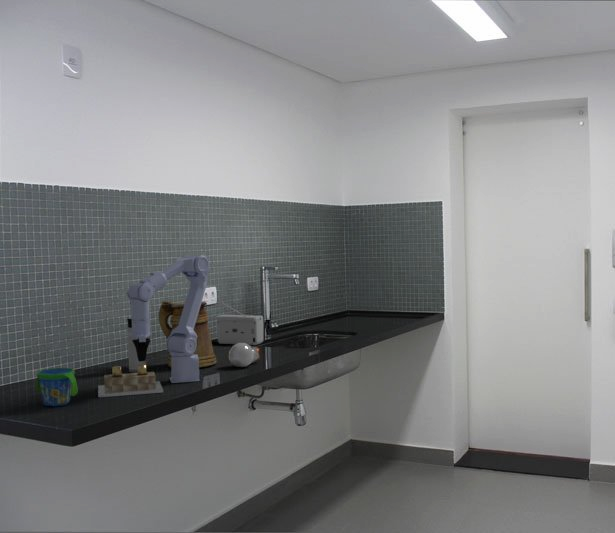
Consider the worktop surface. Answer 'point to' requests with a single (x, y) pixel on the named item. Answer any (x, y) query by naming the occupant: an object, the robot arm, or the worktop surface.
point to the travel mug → (133, 351)
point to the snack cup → (56, 386)
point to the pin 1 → (116, 371)
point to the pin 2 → (142, 370)
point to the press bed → (129, 391)
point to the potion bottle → (243, 354)
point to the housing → (130, 381)
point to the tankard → (200, 328)
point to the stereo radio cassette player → (240, 329)
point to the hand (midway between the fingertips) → (141, 361)
